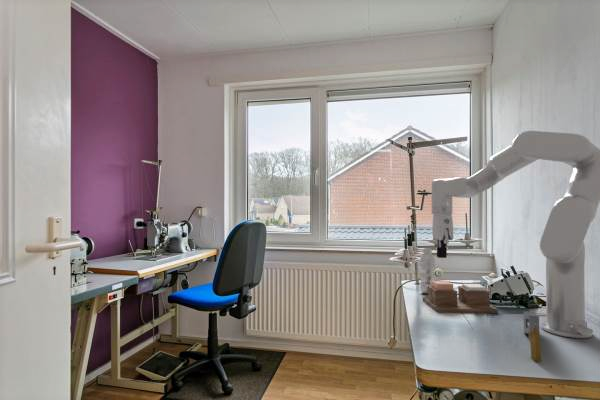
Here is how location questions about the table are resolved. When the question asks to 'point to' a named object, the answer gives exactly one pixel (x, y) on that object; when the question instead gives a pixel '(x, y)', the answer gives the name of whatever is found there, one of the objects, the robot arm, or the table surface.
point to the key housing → (459, 301)
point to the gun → (533, 334)
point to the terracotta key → (442, 285)
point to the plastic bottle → (426, 270)
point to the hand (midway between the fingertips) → (441, 257)
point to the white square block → (473, 287)
